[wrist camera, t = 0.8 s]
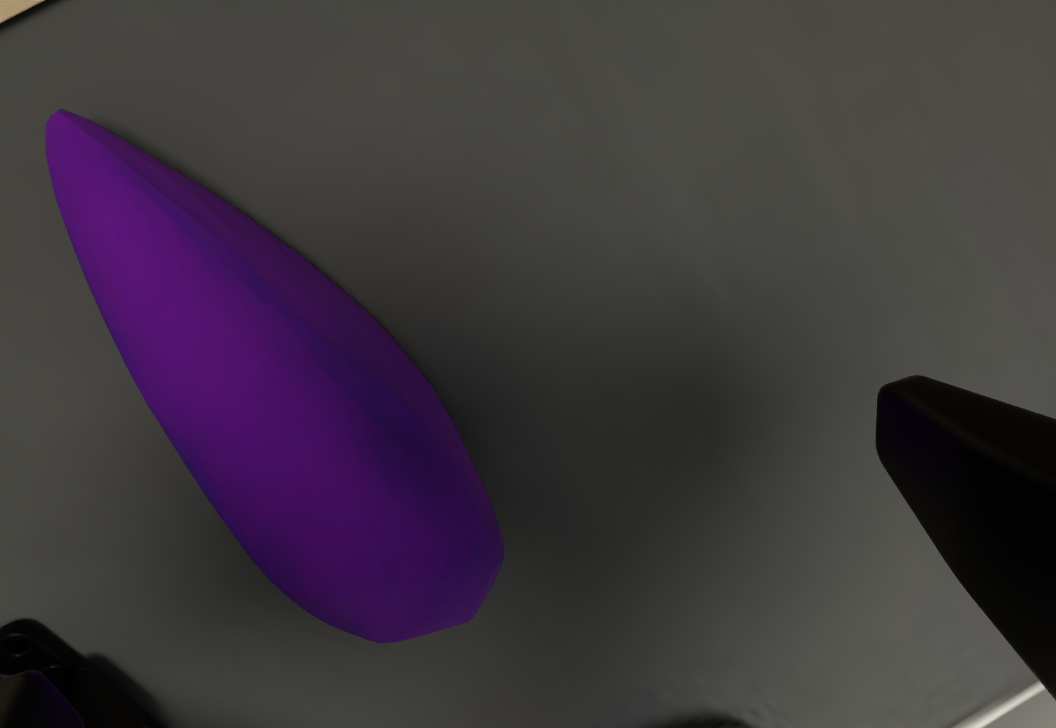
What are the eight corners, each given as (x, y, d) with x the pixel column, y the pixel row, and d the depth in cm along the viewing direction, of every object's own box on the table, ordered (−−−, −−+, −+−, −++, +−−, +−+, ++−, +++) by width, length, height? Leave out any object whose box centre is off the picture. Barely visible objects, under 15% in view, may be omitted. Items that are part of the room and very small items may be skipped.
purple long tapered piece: (130, 57, 13) (579, 629, 20) (179, 33, 17) (534, 511, 24) (-121, 225, 13) (410, 732, 20) (-12, 160, 18) (395, 598, 25)
